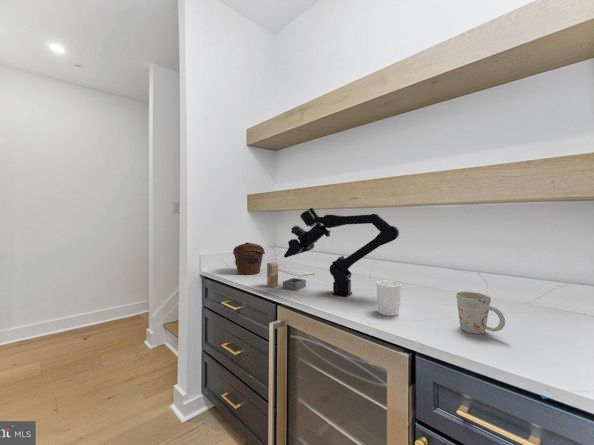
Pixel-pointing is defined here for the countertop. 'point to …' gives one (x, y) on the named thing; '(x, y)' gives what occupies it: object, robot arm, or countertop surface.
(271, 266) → the slat
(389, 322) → the countertop surface
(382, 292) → the white cup
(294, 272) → the baseboard
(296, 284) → the end cap
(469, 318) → the mug
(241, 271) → the brown tapered cylinder
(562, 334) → the countertop surface
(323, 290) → the countertop surface
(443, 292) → the countertop surface
